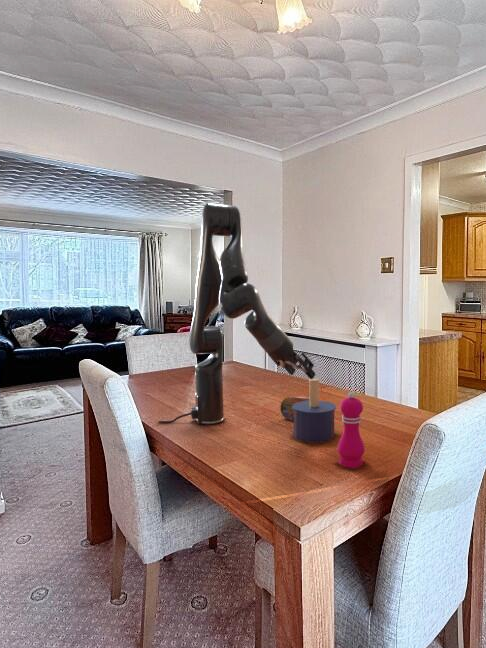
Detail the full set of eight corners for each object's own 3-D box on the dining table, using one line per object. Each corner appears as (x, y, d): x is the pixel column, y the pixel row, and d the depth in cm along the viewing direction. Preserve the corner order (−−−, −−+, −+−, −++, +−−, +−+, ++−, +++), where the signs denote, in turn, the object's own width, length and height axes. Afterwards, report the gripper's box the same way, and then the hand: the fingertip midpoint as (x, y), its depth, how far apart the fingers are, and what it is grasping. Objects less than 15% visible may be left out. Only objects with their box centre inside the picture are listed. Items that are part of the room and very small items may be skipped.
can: (302, 445, 136) (302, 415, 135) (288, 432, 148) (288, 404, 147) (340, 440, 141) (340, 410, 139) (324, 428, 152) (324, 400, 151)
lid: (301, 417, 134) (301, 386, 133) (286, 406, 147) (286, 376, 146) (343, 413, 139) (343, 382, 138) (325, 401, 152) (325, 373, 150)
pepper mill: (335, 459, 126) (335, 388, 123) (361, 458, 126) (362, 388, 124) (339, 470, 119) (340, 395, 116) (367, 469, 119) (368, 395, 116)
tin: (280, 419, 162) (279, 396, 161) (283, 416, 165) (283, 394, 164) (319, 424, 157) (320, 400, 155) (323, 421, 160) (323, 398, 158)
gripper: (298, 332, 125) (326, 368, 135) (264, 328, 135) (293, 361, 145) (284, 354, 122) (313, 388, 132) (250, 348, 132) (280, 380, 142)
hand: (303, 374), depth 138 cm, fingers open, 8 cm apart
